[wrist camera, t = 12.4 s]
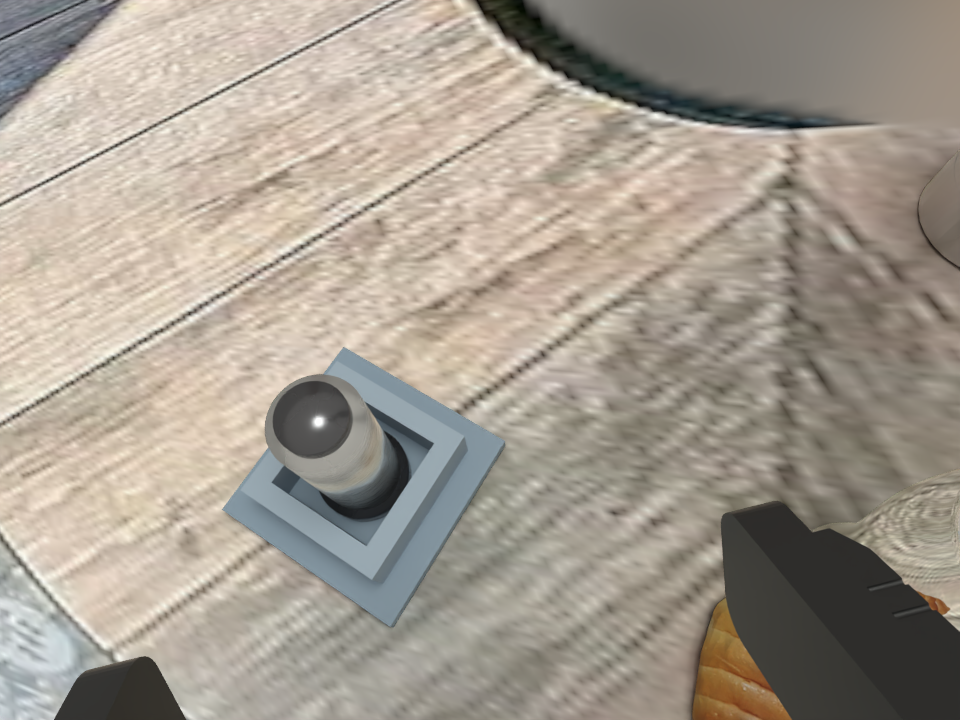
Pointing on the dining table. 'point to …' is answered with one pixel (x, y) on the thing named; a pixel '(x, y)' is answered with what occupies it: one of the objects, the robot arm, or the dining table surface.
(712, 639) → the pastry
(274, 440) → the thermos
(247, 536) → the dining table surface
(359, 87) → the dining table surface
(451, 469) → the dock
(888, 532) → the beer glass
